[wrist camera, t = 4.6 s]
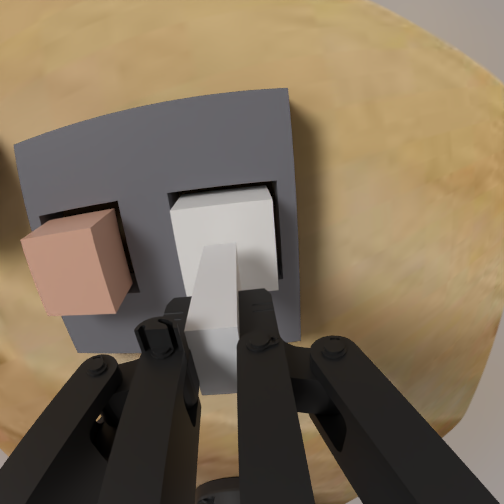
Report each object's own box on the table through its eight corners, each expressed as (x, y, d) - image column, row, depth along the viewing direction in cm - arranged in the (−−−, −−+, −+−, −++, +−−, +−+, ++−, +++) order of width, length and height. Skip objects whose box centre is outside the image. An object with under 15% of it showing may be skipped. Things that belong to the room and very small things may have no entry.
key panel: (293, 316, 24) (300, 340, 21) (90, 330, 24) (77, 352, 21) (280, 92, 18) (287, 88, 15) (37, 139, 18) (13, 145, 15)
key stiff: (132, 283, 19) (115, 313, 16) (70, 288, 19) (47, 315, 16) (114, 208, 17) (90, 227, 14) (49, 220, 17) (20, 239, 14)
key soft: (272, 262, 20) (278, 290, 17) (194, 270, 20) (187, 298, 17) (266, 185, 18) (272, 199, 15) (181, 194, 18) (169, 210, 15)
